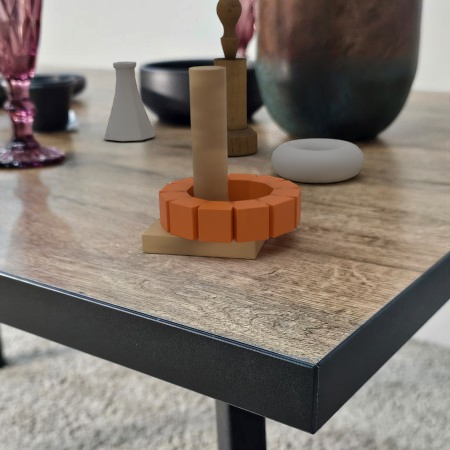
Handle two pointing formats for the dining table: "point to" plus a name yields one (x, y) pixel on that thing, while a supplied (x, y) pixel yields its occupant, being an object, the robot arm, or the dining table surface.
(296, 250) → the dining table surface
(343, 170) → the donut
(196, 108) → the stand
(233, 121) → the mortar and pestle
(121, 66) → the flask
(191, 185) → the ring
